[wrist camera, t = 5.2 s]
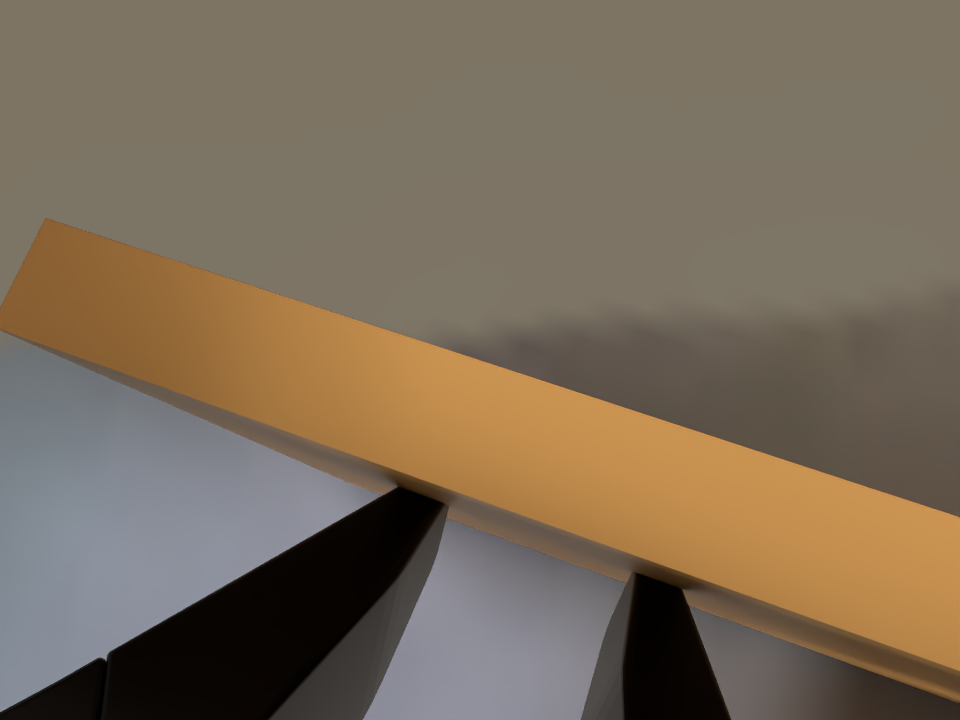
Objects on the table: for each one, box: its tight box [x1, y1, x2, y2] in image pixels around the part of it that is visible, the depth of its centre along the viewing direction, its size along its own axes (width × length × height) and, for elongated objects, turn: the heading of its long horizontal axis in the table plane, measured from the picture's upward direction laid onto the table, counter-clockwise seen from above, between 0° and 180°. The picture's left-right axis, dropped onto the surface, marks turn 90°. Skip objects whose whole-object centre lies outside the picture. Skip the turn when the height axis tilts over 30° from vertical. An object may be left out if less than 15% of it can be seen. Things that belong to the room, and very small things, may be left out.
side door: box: [0, 218, 960, 704], centre depth 9 cm, size 14×1×10 cm, turn 70°
